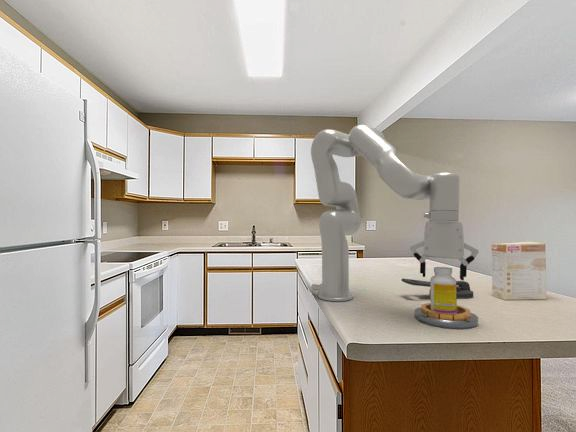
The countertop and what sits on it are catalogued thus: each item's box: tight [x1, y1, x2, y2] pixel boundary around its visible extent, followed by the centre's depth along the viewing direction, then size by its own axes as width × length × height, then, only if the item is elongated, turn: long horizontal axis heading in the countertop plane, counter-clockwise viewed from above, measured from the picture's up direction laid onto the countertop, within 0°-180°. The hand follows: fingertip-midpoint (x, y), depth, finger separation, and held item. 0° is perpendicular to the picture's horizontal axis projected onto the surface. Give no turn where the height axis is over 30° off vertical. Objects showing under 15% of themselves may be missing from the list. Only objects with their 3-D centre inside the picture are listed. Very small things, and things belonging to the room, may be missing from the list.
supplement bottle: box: [429, 266, 458, 314], centre depth 91 cm, size 7×7×13 cm
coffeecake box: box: [491, 241, 547, 301], centre depth 115 cm, size 15×7×20 cm, turn 91°
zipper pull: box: [401, 277, 474, 300], centre depth 117 cm, size 9×7×25 cm
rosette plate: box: [414, 302, 479, 330], centre depth 91 cm, size 16×16×3 cm
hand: (442, 277), depth 91 cm, fingers open, 9 cm apart
